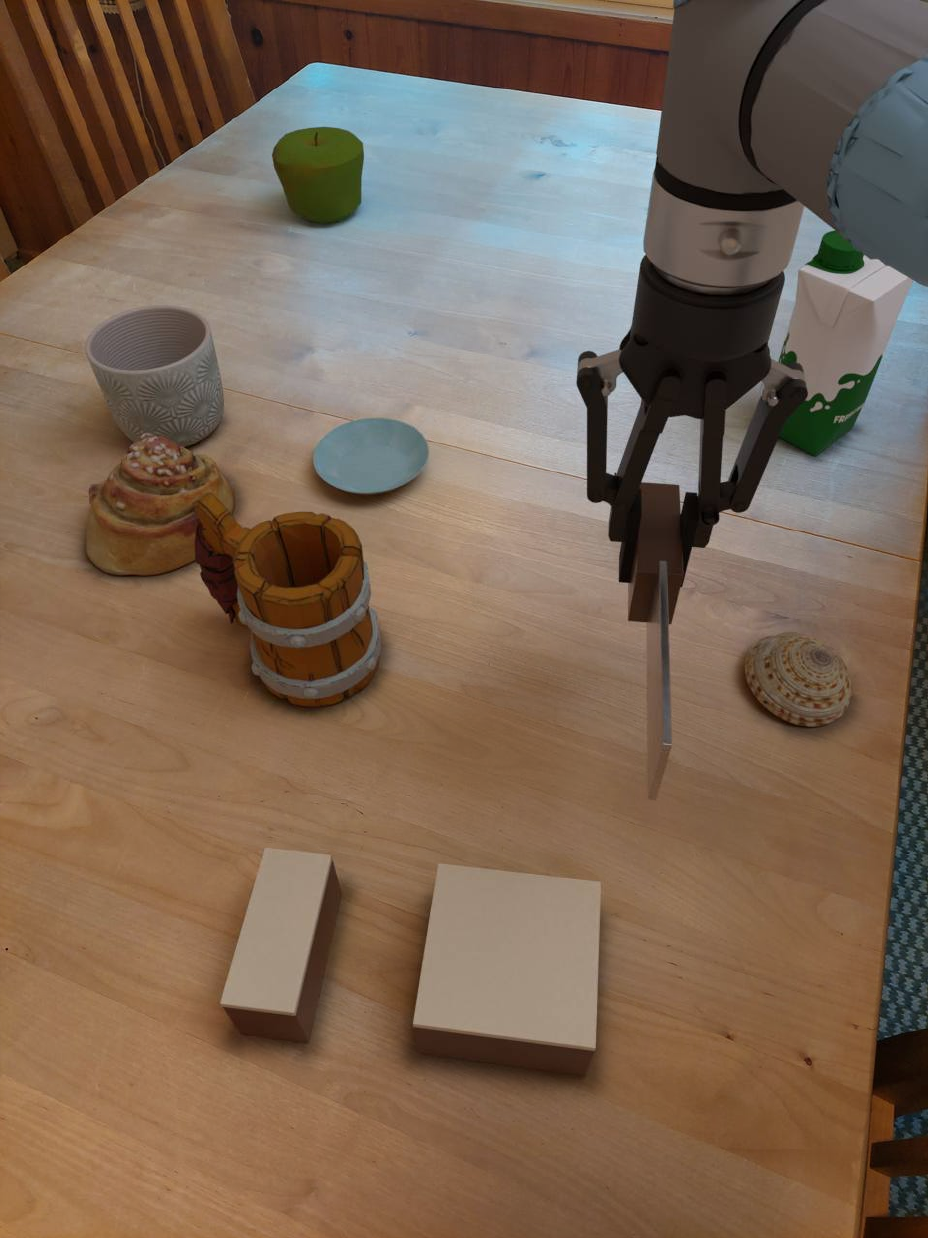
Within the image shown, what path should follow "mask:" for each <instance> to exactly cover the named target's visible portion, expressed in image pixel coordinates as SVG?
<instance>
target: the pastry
mask: <svg viewBox="0 0 928 1238" xmlns="http://www.w3.org/2000/svg"><path fill="white" fill-rule="evenodd" d="M207 492H210V493H212V494H213V495H215V496H216V497H217V498H218V499H219V500H220V501H221V502H222V503H223V505H224V506H225V507H226V508H227V509H228V510H229V512H230V513H231V514H232V515H233V512H234V510H235V508H236V507H235V506H236V499H235V498H236V497H235V493H234V490H233V489H232V487H231V485H230V484H229V482H228V481H227V479H226V478H225V476H224V475H223V474H222V472H221V471H220V469H219V467H218V465H217V464H216V461H214V459H212V457H209V456H207V455H206V454H200V453H195V452H194V451H191V450H190V449H187V448H186V447H182V446H179V445H178V444H176V443H175V442H174V441H171V440H169V439H168V438H166V437H164V436H154V435H152V434H149V433H144V434H143V435H142V436H141V438H140V440H139V441H137V442H133V443H132V444H131V445H129V447H128V450H126V452H125V453H124V454H123V455H122V458H121V460H120V462H119V463H117V464H116V465H115V466H114V467H113V469H112V470H111V472H110V473H109V474H108V476H107V477H106V479H104V480H102V481H100V482H98V483H92V484H90V486H89V487H88V499H89V500H88V502H89V515H88V520H87V528H86V554H87V557H88V558H89V560H90V561H91V562H92V564H94V566H95V567H96V568H98V569H99V570H100V571H102V572H104V573H107V574H111V575H117V576H132V575H133V576H134V575H135V576H142V577H143V576H144V577H145V576H156V575H161V574H164V573H169V572H172V571H174V570H177V569H180V568H183V567H184V566H186V565H188V564H191V563H192V562H195V533H196V528H197V526H198V524H199V522H200V520H199V518H198V516H197V514H196V512H195V510H194V508H193V504H192V503H193V502H194V501H195V500H196V499H197V498H199V497H200V496H201V495H202V494H204V493H207Z"/></svg>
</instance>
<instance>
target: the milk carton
mask: <svg viewBox="0 0 928 1238" xmlns="http://www.w3.org/2000/svg"><path fill="white" fill-rule="evenodd" d="M796 282H797V283H796V291H795V293H796V294H795V301H794V305H793V310H792V312H791V316H790V319H789V323H788V325H787V326H788V327H787V330H786V332H785V337H784V341H783V344H782V348H781V351H780V353H779V354H780V355H779V358H778V360H777V362H779V363H781V364H783V365H787V364H789V363H791V362H796V363H799V364H801V365H802V367H803V371H804V376H805V381H806V386H807V390H808V397H807V398H806V400H805V401H804V402H803V403H802V404H801V405H800V406H799V407H798V408H797V409H796V411H795V412H794V413H793V414H792V415H791V416H790V417H789V418H788V419H787V420H786V422H785V424H784V426H783V429H782V431H781V434H780V436H779V438H780V439H782V440H783V441H786V442H787V443H790V444H792V445H793V446H795V447H796V448H797V447H798V448H799V449H801V450H803V451H805V452H806V453H808V454H810V455H812V456H814V457H817V456H819V455H820V454H821V453H822V452H824V451H825V450H826V449H828V448H829V447H830V446H832V445H833V444H834V443H836V442H837V441H838V440H839V439H841V438H842V437H843V436H844V435H846V434H847V433H848V432H850V431H851V430H852V429H853V428H854V426H855V424H856V421H857V420H858V418H859V415H860V413H861V412H862V409H863V408H864V405H865V402H866V401H867V398H868V395H869V393H870V390H871V388H872V385H873V383H874V380H875V377H876V375H877V372H878V370H879V368H880V364H881V362H882V360H883V357H884V354H885V351H886V349H887V346H888V343H889V341H890V338H891V336H892V333H893V331H894V329H895V326H896V323H897V321H898V318H899V315H900V313H901V310H902V309H903V306H904V304H905V301H906V300H907V296H908V295H909V292H910V289H911V287H912V284H913V282H914V280H912V279H910V278H909V277H907V276H905V275H904V274H902V273H900V272H899V271H897V270H895V269H893V268H892V267H890V266H886V265H885V264H883V263H882V262H881V261H880V260H878V259H869V258H868V257H867V256H865V255H864V254H863V253H862V252H858V251H856V250H855V249H854V248H852V246H851V244H849V242H847V241H845V239H844V238H843V237H842V236H841V235H840V234H839V233H838V232H837V231H836V230H830V231H827V232H826V233H824V234H823V236H822V238H821V241H820V244H819V247H818V249H817V253H816V254H815V255H814V256H813V257H812V259H811V260H810V261H807V262H806V263H805V264H804V266H802V267H800V268H799V269H798V270H797V280H796Z"/></svg>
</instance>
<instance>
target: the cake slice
mask: <svg viewBox="0 0 928 1238" xmlns="http://www.w3.org/2000/svg"><path fill="white" fill-rule="evenodd" d="M342 897H343V892H342V888H341V885H340V881H339V877H338V874H337V870H336V867H335V863H334V860H333V857H332V854H327V853H317V852H308V851H299V850H289V849H281V848H273V847H264V850H263V852H262V857H261V860H260V863H259V867H258V870H257V873H256V876H255V880H254V884H253V887H252V891H251V894H250V898H249V901H248V906H247V908H246V911H245V914H244V918H243V922H242V926H241V928H240V933H239V936H238V939H237V943H236V945H235V950H234V953H233V957H232V960H231V963H230V966H229V970H228V974H227V977H226V979H225V980H226V981H225V984H224V988H223V991H222V995H221V997H220V1001H219V1005H220V1006H221V1007H222V1009H223V1010H224V1012H225V1013H226V1015H227V1016H228V1017H229V1019H230V1021H231V1022H232V1023H233V1025H234V1027H235V1028H236V1030H237V1031H238V1032H239V1034H240V1035H244V1036H251V1037H258V1038H267V1039H274V1040H282V1041H289V1042H297V1043H304V1044H309V1043H310V1041H311V1035H312V1031H313V1027H314V1024H315V1023H314V1022H315V1017H316V1013H317V1009H318V1004H319V999H320V996H321V991H322V986H323V981H324V977H325V973H326V967H327V963H328V959H329V954H330V950H331V945H332V941H333V937H334V933H335V928H336V922H337V919H338V914H339V910H340V905H341V900H342Z"/></svg>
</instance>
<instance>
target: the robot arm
mask: <svg viewBox="0 0 928 1238" xmlns="http://www.w3.org/2000/svg"><path fill="white" fill-rule="evenodd" d="M672 8H673V10H674V11H673V17H672V25H671V34H670V41H669V49H668V58H667V65H666V71H665V72H666V74H665V81H664V88H663V89H664V90H663V96H662V105H661V112H660V121H659V127H658V136H657V144H656V153H655V155H656V159H655V165H654V169H653V172H652V177H651V184H650V185H651V186H650V192H649V198H648V206H647V212H646V220H645V227H644V235H643V240H642V243H643V244H642V245H643V253H644V255H643V257H642V259H641V261H640V263H639V270H638V278H637V284H636V285H637V286H636V290H635V291H636V292H635V298H634V305H633V306H634V307H633V312H632V320H631V326H630V327H629V330H628V332H627V333H626V335H625V336H624V337H623V338H622V339H621V341H620V344H619V348H618V349H616V350H614V351H610V352H607V353H604V354H601V355H598V354H597V353H596V352H594V351H593V350H592V351H591V350H586V351H582V352H581V353H580V354H579V355H578V359H577V370H576V380H575V381H576V387H577V389H578V392H579V394H580V397H581V398H582V402H583V403H584V405H585V407H586V498H587V500H588V501H589V502H591V503H593V504H597V503H599V504H600V503H602V502H605V503H607V504H608V505H609V506H610V510H609V518H608V529H607V530H608V533H607V534H608V535H607V536H608V539H609V541H610V542H614V543H620V546H619V547H620V548H619V554H618V583H620V584H621V583H622V584H628V583H629V580H630V574H631V569H632V563H633V558H634V552H635V547H636V541H637V538H638V533H639V527H640V522H641V516H642V506H641V489H639V487H640V484H641V482H643V479H644V477H645V473H646V471H647V468H648V466H649V463H650V461H651V458H652V455H653V452H654V450H655V447H656V445H657V442H658V439H659V437H660V434H663V432H664V430H665V427H666V424H667V422H668V419H669V418H675V417H683V416H686V417H690V418H693V419H697V420H700V421H699V423H700V425H699V452H698V453H699V454H698V459H699V460H698V477H697V478H698V479H697V480H698V481H697V490H698V491H697V492H692V491H685V493H684V494H685V495H684V497H683V503H682V507H681V533H682V554H683V579H682V583H681V587H680V588H683V585H684V582H685V578H686V574H687V569H688V565H689V561H690V557H691V555H692V549H693V548H698V549H699V548H700V549H705V548H706V547H707V546H708V545H709V543H710V540H711V537H712V532H713V528H714V526H715V525H717V524H718V523H719V522H720V518H721V517H720V513H722V512H724V511H729V510H730V511H732V512H733V513H736V514H740V513H744V512H746V511H748V510H749V508H750V506H751V504H752V502H753V499H754V497H755V495H756V492H757V490H758V487H759V485H760V483H761V481H762V478H763V476H764V474H765V471H766V468H767V467H768V464H769V462H770V459H771V458H772V454H773V452H774V450H775V448H776V445H777V443H778V440H779V438H780V437H779V436H780V434H781V431H782V429H783V426H784V424H785V422H786V420H787V419H788V418H789V417H790V416H791V415H792V414H793V413H794V412H795V411H796V409H797V408H798V407H799V406H800V405H801V404H802V403H803V402H804V401H805V400H806V398H807V397H808V390H807V386H806V381H805V376H804V371H803V367H802V365H801V364H799V363H796V362H791V363H789V364H787V365H783V364H781V363H779V362H778V360H775V359H773V358H772V357H771V350H770V347H769V341H770V339H771V338H770V337H771V333H772V330H773V327H774V322H775V319H776V315H777V313H778V312H777V311H778V308H779V304H780V300H781V297H782V293H783V290H784V286H785V282H786V275H785V272H784V271H785V270H786V269H787V268H788V266H789V264H790V262H791V260H792V256H793V253H794V249H795V244H796V241H797V236H798V233H799V229H800V226H801V222H802V221H801V220H802V218H803V214H804V208H807V210H809V211H810V212H811V213H812V214H814V215H815V216H816V217H818V218H819V219H821V221H823V222H824V223H825V224H827V225H828V226H829V227H830V228H832V229H833V231H835V230H836V231H837V232H838V233H839V234H840V235H841V236H842V237H843V238H844V239H845V241H847V242H849V244H851V246H852V248H854V249H855V250H856V251H858V252H862V253H863V254H864V255H865V256H867V257H868V258H869V259H878V260H880V261H881V262H882V263H883V264H885V265H886V266H890V267H892V268H893V269H895V270H897V271H899V272H900V273H902V274H904V275H905V276H907V277H909V278H910V279H912V280H913V282H915V283H917V284H918V285H920V286H923V287H925V288H928V2H925V1H923V0H673V3H672ZM621 374H624V375H625V377H626V378H627V380H628V381H629V383H630V385H631V386H632V387H633V389H634V390H635V391H636V393H637V394H638V396H639V398H640V399H641V400H640V406H639V408H638V411H637V414H636V417H635V420H634V423H633V426H632V428H631V431H630V435H629V437H628V439H627V441H626V442H627V443H626V446H625V448H624V452H623V454H622V457H621V459H620V462H619V465H618V468H617V471H616V472H614V474H612V473H610V472H607V462H608V461H607V459H608V419H609V418H608V417H609V413H608V412H609V410H608V409H609V396H610V395H611V393H613V392H614V391H615V390H616V388H617V378H618V377H619V376H620V375H621ZM758 384H760V385H759V386H760V387H759V388H760V398H759V400H758V402H757V405H756V407H755V409H754V412H753V415H752V418H751V420H750V423H749V425H748V428H747V430H746V432H745V436H744V438H743V440H742V443H741V446H740V448H739V451H738V453H737V455H736V458H735V460H734V463H733V466H732V469H731V471H730V475H729V477H728V479H727V481H722V466H723V465H722V464H723V447H724V436H725V428H726V412H727V410H728V409H729V408H730V407H732V406H733V405H734V404H735V403H736V402H738V401H739V400H740V399H741V398H742V397H744V396H745V395H746V394H747V393H748V392H750V391H751V390H752V389H753V388H755V387H756V386H757V385H758Z"/></svg>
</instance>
